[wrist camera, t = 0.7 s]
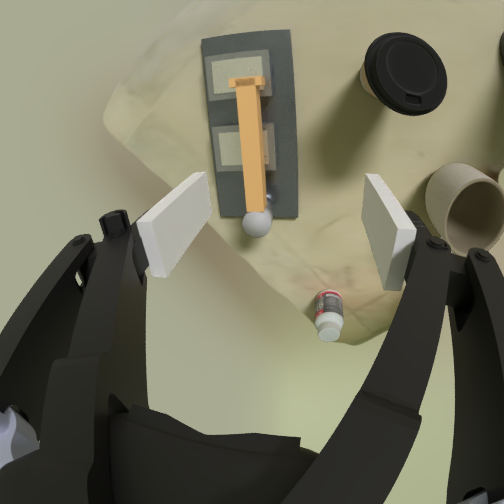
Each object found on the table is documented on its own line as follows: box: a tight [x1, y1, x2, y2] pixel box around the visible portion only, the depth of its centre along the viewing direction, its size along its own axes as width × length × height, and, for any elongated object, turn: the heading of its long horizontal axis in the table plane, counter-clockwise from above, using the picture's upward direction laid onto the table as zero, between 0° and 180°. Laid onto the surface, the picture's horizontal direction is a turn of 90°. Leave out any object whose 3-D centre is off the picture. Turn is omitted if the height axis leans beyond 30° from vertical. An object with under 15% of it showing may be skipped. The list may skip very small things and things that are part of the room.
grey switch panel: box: [201, 29, 298, 218], centre depth 37 cm, size 13×30×5 cm, turn 4°
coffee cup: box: [360, 32, 447, 116], centre depth 25 cm, size 10×9×15 cm
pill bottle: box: [315, 289, 344, 342], centre depth 50 cm, size 5×5×10 cm
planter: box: [425, 163, 504, 257], centre depth 33 cm, size 12×12×11 cm
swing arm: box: [229, 76, 273, 238], centre depth 35 cm, size 22×4×3 cm, turn 4°
